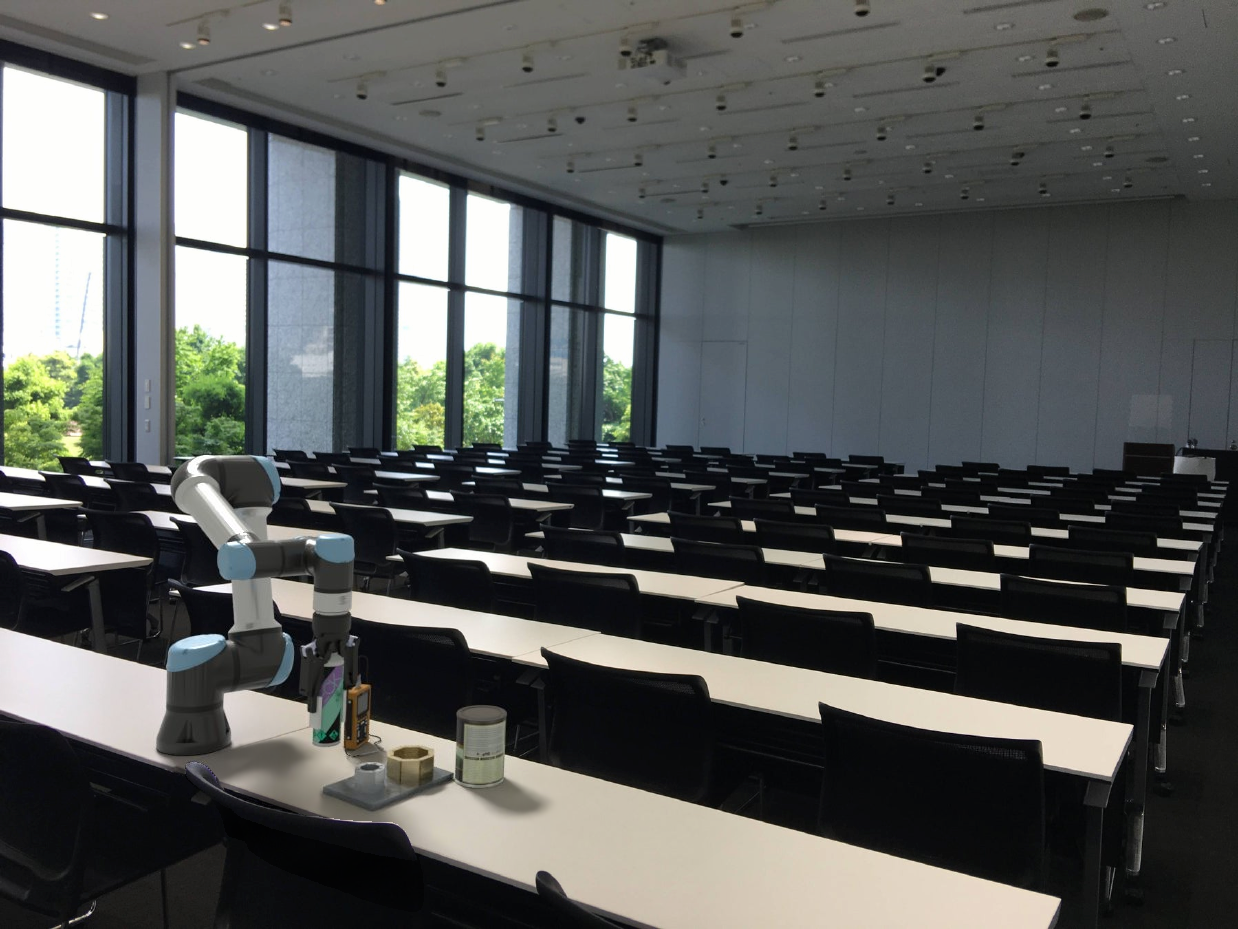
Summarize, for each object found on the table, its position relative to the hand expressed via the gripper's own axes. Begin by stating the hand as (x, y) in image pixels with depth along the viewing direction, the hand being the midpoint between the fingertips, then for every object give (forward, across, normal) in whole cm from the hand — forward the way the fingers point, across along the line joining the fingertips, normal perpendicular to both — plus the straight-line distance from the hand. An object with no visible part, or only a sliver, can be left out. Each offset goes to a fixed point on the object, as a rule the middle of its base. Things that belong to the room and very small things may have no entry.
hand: (327, 724), depth 197 cm
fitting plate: (+11, +6, -13) cm, 18 cm away
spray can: (+4, 0, 0) cm, 4 cm away
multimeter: (+12, +19, +7) cm, 23 cm away
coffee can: (+11, +20, -24) cm, 33 cm away
